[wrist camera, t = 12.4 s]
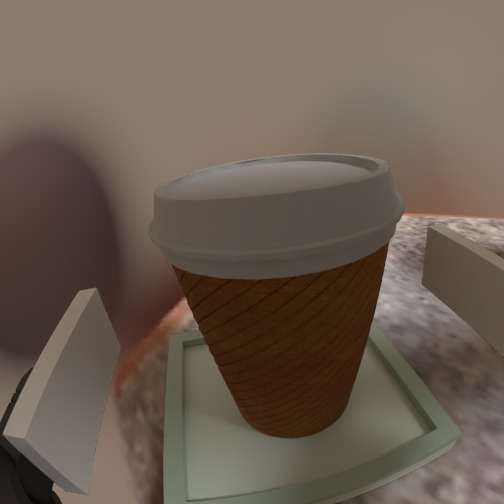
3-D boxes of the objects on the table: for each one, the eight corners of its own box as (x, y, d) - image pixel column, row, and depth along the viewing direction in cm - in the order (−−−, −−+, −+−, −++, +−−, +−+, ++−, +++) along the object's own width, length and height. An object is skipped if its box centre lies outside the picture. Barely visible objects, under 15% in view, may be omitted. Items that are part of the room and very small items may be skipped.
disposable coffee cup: (183, 384, 17) (121, 189, 13) (303, 322, 22) (288, 150, 17) (273, 501, 10) (208, 235, 5) (411, 388, 14) (446, 163, 9)
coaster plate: (351, 315, 23) (352, 296, 23) (450, 450, 10) (462, 432, 10) (176, 353, 22) (169, 335, 21) (178, 530, 9) (164, 521, 8)
